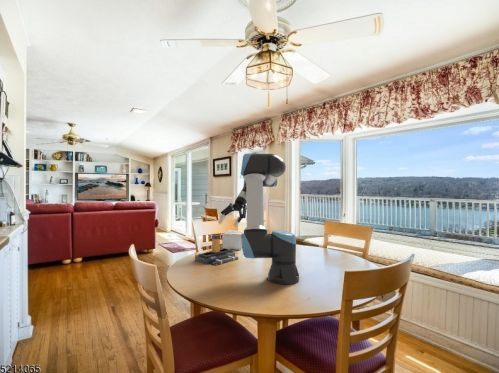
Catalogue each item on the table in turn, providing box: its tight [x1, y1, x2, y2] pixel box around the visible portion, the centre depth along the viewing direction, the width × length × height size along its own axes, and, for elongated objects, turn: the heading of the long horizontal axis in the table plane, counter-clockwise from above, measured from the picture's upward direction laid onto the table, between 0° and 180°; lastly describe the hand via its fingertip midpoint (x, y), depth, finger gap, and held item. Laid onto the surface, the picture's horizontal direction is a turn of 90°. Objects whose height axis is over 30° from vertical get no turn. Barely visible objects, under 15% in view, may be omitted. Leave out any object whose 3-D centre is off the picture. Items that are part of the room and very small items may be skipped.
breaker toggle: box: [211, 234, 221, 254], centre depth 172 cm, size 4×4×11 cm
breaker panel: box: [194, 247, 236, 265], centre depth 172 cm, size 22×12×4 cm, turn 138°
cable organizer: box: [221, 230, 244, 251], centre depth 201 cm, size 15×11×12 cm
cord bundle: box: [210, 255, 239, 266], centre depth 166 cm, size 18×5×2 cm, turn 138°
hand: (226, 224), depth 179 cm, fingers open, 13 cm apart
